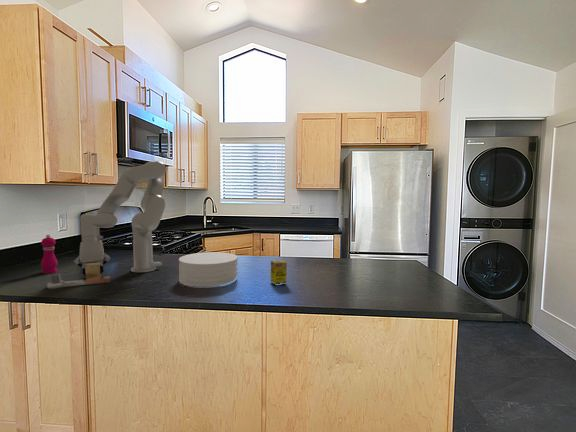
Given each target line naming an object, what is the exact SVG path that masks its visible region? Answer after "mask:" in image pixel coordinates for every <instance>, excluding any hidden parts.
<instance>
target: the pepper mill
mask: <svg viewBox="0 0 576 432" xmlns="http://www.w3.org/2000/svg"><path fill="white" fill-rule="evenodd" d="M45 236H46V237H45V238H43V239H42V240H41V242H40V244H41V246H42V250H43V257H42V259H41V262H40V267H41V268H42V270H41V271H42V272H41V273H42V274H44V273H45V275H46V274H55V273H57V272H58V268H57V266H58V264H59V263H58V259H57V256H56V255H55V245H56V243H57V242H56V240H55V238H54V237H51V235H50V234H47V235H45Z"/></svg>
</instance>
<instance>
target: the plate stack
mask: <svg viewBox="0 0 576 432" xmlns="http://www.w3.org/2000/svg"><path fill="white" fill-rule="evenodd" d="M178 263H179V264H178V268H179V270H178V273H179V274H178V278H179V280H178V283H179V282H180V283H182V284H184V285H190V286H193V285H195V286H211V285H220V284H222V285H223V284H225V283H228V282H231V281H233V280H234V279H235V278H236V276H237V277H238V255H236V254H234V253H229V252H219V251H218V252H215V251H211V252H208V251H206V252H197V253H195V252H194V253H190V254H186V255H182V256H180V257H179V258H178ZM180 283H179V284H180Z"/></svg>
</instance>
